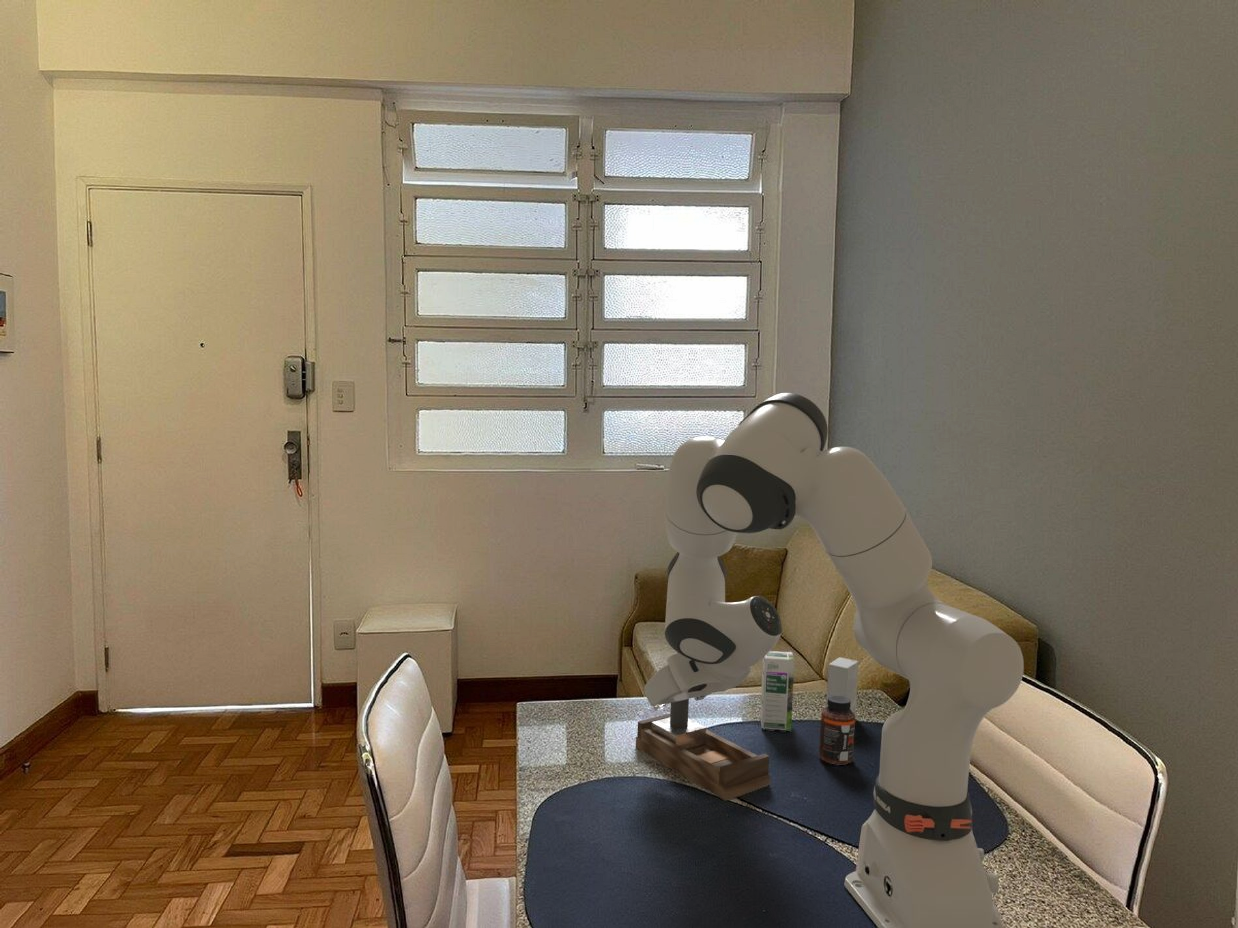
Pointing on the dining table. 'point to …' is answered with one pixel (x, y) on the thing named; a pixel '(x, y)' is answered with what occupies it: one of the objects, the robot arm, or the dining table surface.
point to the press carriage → (680, 727)
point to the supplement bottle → (837, 731)
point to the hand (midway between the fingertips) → (676, 701)
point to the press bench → (708, 762)
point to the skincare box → (843, 680)
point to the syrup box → (777, 690)
